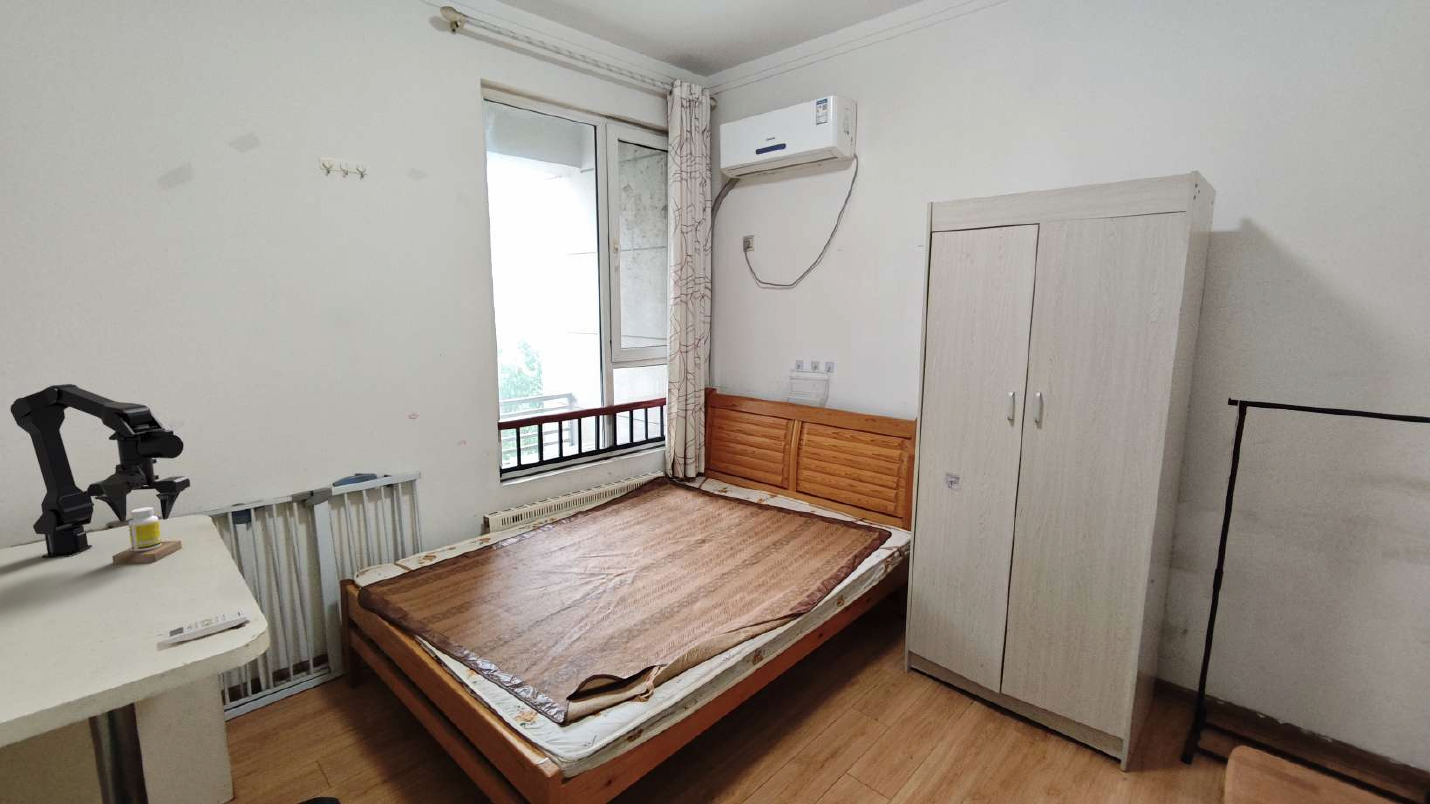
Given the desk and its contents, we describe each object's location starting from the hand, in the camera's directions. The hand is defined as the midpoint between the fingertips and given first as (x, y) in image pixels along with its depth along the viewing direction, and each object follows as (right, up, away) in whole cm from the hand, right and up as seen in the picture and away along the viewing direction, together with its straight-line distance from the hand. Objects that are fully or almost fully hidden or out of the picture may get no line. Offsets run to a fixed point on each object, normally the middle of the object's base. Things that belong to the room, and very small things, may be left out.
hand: (144, 520), depth 151 cm
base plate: (0, -9, +1) cm, 9 cm away
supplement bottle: (0, -7, +1) cm, 7 cm away
